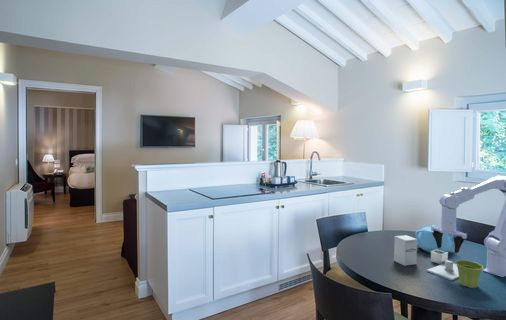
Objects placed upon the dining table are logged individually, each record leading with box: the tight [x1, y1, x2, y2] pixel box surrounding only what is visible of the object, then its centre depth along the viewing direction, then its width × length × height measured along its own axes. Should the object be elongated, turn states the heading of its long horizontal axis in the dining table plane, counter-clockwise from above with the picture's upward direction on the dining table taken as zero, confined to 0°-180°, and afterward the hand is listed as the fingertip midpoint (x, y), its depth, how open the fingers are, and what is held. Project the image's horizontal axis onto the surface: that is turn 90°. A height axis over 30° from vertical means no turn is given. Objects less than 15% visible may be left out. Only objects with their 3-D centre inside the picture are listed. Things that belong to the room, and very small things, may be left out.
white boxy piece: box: [430, 249, 449, 265], centre depth 152 cm, size 5×5×5 cm
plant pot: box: [455, 259, 484, 289], centre depth 128 cm, size 9×9×9 cm
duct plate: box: [426, 259, 459, 281], centre depth 141 cm, size 18×11×5 cm, turn 119°
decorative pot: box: [414, 225, 454, 254], centre depth 168 cm, size 16×16×14 cm
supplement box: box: [393, 234, 418, 267], centre depth 151 cm, size 7×7×13 cm
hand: (447, 249), depth 142 cm, fingers open, 7 cm apart
